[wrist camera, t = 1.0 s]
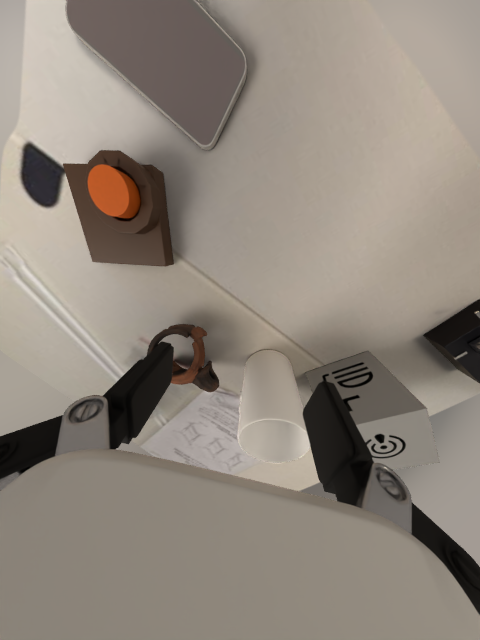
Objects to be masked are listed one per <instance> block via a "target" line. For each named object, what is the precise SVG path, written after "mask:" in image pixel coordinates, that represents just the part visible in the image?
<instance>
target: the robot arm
mask: <svg viewBox="0 0 480 640" xmlns="http://www.w3.org/2000/svg"><path fill="white" fill-rule="evenodd" d="M173 352H174V347H172V346H171V344H170V343H166V342H160V343H159V344H158V345H157V346H156V347H155V348H154V349H153V350H152V351H151V352H150V353H149V354H148V355H147V356H146V357H145V358H144V360H142V359H141V360H139V361H138V362H137V363H136V364H135V365H134V366H133V367H132V368H131V369H130V370H129V371H128V372H127V373H126V374H125V375H123V376H122V377H121V378H120V379H119V380H118V381H117V382H116V383H115V384H114V385H113V386H112V387H111V388H110V389H109V390H108V391H107V392H106V393H105V394H104V395H103V396H100V395H92V396H87V397H84V398H81V399H79V400H78V401H76V402H74V403H73V404H72V405H70V406H69V407H68V408H67V410H66V411H65V412H64V415H62V416H59V417H56V418H53V419H50V420H47V421H44V422H41V423H38V424H35V425H32V426H30V427H27V428H24V429H21V430H18V431H15V432H12V433H9V434H6V435H3V436H0V640H480V567H479V566H478V564H477V563H476V562H475V561H474V559H473V558H472V557H471V556H470V555H469V554H468V553H467V552H466V551H465V550H464V549H463V548H462V547H460V546H459V545H458V544H457V543H456V542H455V541H454V540H452V538H450V537H449V536H448V535H447V534H446V533H445V532H444V531H443V530H442V529H441V528H439V527H438V526H437V525H436V524H435V523H434V522H433V521H432V520H431V519H430V518H428V517H427V516H426V515H425V514H424V513H423V512H422V511H421V510H420V509H419V508H417V507H416V506H415V505H414V504H413V503H412V500H411V495H410V492H409V490H408V488H407V486H406V485H405V483H404V482H403V481H402V480H401V478H400V477H399V476H398V475H397V474H396V473H395V472H394V471H393V470H392V469H390V468H389V467H387V466H386V465H383V464H381V463H374V461H373V459H372V458H373V456H372V454H371V452H370V450H369V448H368V447H367V445H366V443H365V441H364V439H363V437H362V435H361V433H360V432H359V430H358V428H357V426H356V424H355V422H354V420H353V418H352V416H351V415H350V413H349V411H348V409H347V407H346V405H345V403H344V401H343V400H342V398H341V396H340V394H339V392H338V390H337V388H336V386H335V385H334V383H331V382H327V381H322V382H320V383H319V384H318V385H317V387H316V389H315V391H314V392H313V394H312V396H311V398H310V399H309V401H308V403H307V405H306V406H305V408H304V410H303V419H304V423H305V427H306V430H307V434H308V438H309V442H310V446H311V450H312V454H313V458H314V462H315V466H316V470H317V474H318V478H319V480H320V482H321V483H322V484H323V488H324V491H325V492H329V493H333V494H336V497H337V501H334V500H331V499H327V498H323V497H319V496H315V495H311V494H307V493H303V492H299V491H295V490H291V489H287V488H283V487H279V486H275V485H271V484H267V483H262V482H258V481H254V480H250V479H246V478H242V477H238V476H233V475H229V474H225V473H221V472H217V471H213V470H208V469H204V468H200V467H196V466H191V465H187V464H183V463H178V462H174V461H170V460H166V459H161V458H157V457H152V456H147V455H143V454H138V453H133V452H127V451H121V450H115V449H116V448H118V447H119V446H120V444H121V443H126V444H129V443H130V441H131V440H132V438H136V437H137V436H138V434H139V433H140V431H141V430H142V428H143V426H144V425H145V423H146V422H147V420H148V418H149V417H150V415H151V414H152V412H153V410H154V409H155V407H156V406H157V404H158V402H159V401H160V399H161V398H162V396H163V394H164V393H165V391H166V389H167V388H168V386H169V385H170V383H171V380H172V369H173Z"/></svg>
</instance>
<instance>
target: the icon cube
mask: <svg viewBox="0 0 480 640" xmlns="http://www.w3.org/2000/svg"><path fill="white" fill-rule="evenodd" d="M305 373H306V376H307V379H308V382H309V384H310V387H311V390H312V393H313V392H314V391H315V389H316V387H317V385H318V384H319V383H320V382H322V381H327V382H331V383H334V385H335V386H336V388H337V390H338V392H339V394H340V396H341V398H342V400H343V401H344V403H345V405H346V407H347V409H348V411H349V413H350V415H351V416H352V418H353V420H354V422H355V424H356V426H357V428H358V430H359V432H360V433H361V435H362V437H363V439H364V441H365V443H366V445H367V447H368V448H369V450H370V452H371V454H372V456H373V458H372V459H373V461H374V463H381V464H383V465H386V466H387V467H389V468H390V469H392V470H394V469H401V468H408V467H414V466H420V465H427V464H434V463H439V457H438V453H437V449H436V445H435V440H434V436H433V432H432V427H431V423H430V419H429V415H428V411H427V408H426V407H425V406H424V405H423V404H422V403H421V402H420V401H419V400H418V399H417V398H416V397H415V396H414V395H413V394H412V393H411V392H410V391H409V390H408V389H407V388H406V387H405V386H404V385H403V384H402V383H401V382H400V381H399V380H398V379H397V378H396V377H395V376H394V375H393V374H391V373H390V372H389V371H388V370H387V369H386V368H385V367H384V366H383V365H382V364H381V363H380V362H379V361H378V360H377V359H376V358H375V357H374V356H373V355H372V354H371V353H370V352H369V351H366V352H363V353H361V354H358V355H355V356H352V357H349V358H346V359H343V360H340V361H337V362H334V363H331V364H329V365H326V366H323V367H320V368H317V369H314V370H311V371H308V372H305Z"/></svg>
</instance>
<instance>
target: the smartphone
mask: <svg viewBox="0 0 480 640" xmlns="http://www.w3.org/2000/svg"><path fill="white" fill-rule="evenodd" d="M66 17H67V21H68V23H69V26H70V27H71V29H72V31H73V32H74V33H75V34H76V35H77V37H78V38H79V39H80V40H81V41H82V42H83V43H84V44H85V45H86V46H87V47H88V48H89V49H90V50H91V51H93V52H94V53H95V54H96V55H97V56H98V57H99V58H100V59H102V60H103V61H104V62H105V63H106V64H107V65H108V66H109V67H111V68H112V69H113V70H114V71H115V72H116V73H117V74H118V75H120V76H121V77H122V78H123V79H124V80H125V81H126V82H127V83H129V84H130V85H131V86H132V87H133V88H134V89H135V90H136V91H138V92H139V93H140V94H141V95H142V96H143V97H144V98H145V99H147V100H148V101H149V102H150V103H151V104H152V105H153V106H154V107H156V108H157V109H158V110H159V111H160V112H161V113H162V114H163V115H165V116H166V117H167V118H168V119H169V120H170V121H171V122H172V123H174V124H175V125H176V126H177V127H178V128H179V129H180V130H181V131H183V132H184V133H185V134H186V135H187V136H188V137H189V138H190V139H192V140H193V141H194V142H195V143H196V144H197V145H198V146H199V147H201V148H202V149H204V150H210V149H212V148H213V147H214V146H215V144H216V142H217V140H218V138H219V136H220V134H221V132H222V130H223V127H224V125H225V123H226V121H227V119H228V117H229V115H230V113H231V111H232V109H233V107H234V104H235V102H236V100H237V98H238V96H239V94H240V92H241V90H242V88H243V86H244V83H245V81H246V76H247V65H246V57H245V54H244V52H243V51H242V49H241V48H240V47H239V46H238V45H237V44H236V43H235V41H234V40H233V39H232V38H231V37H230V36H229V35H228V34H227V33H226V32H225V31H224V30H223V29H222V28H221V26H220V25H219V24H218V23H217V22H216V21H215V20H214V19H213V18H212V17H211V16H210V15H209V14H208V13H207V11H206V10H205V9H204V8H203V7H202V6H201V5H200V4H199V3H198V2H197V1H196V0H66Z"/></svg>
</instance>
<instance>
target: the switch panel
mask: <svg viewBox="0 0 480 640" xmlns="http://www.w3.org/2000/svg"><path fill="white" fill-rule="evenodd" d="M424 337H425V338H426V339H427V340H428V341H429V342H430V343H431V344H432V345H434V346H435V347H436V348H437V349H438V350H439V351H440V352H441V353H442V354H443V355H444V356H445V357H446V358H447V359H448V360H449V361H450V362H451V363H452V364H453V365H454V366H455V367H456V368H457V369H458V370H460V371H461V372H463V373H464V374H466V375H467V376H469V377H471V378H472V379H474V380H475V381H477V382H478V383H480V354H478V353H477V352H476V351H475V350H474V349H473V348H472V347H471V346H470V345H469V344H468V343H470V342H472V341H473V340H475V339H477V338H479V337H480V299H479V300H478V301H476V302H475V303H473V304H471V305H470V306H468V307H467V308H465V309H464V310H462V311H461V312H459V313H457V314H456V315H454V316H453V317H451V318H450V319H448V320H446V321H445V322H443V323H442V324H440V325H439V326H437V327H436V328H434V329H432V330H431V331H429V332H428V333H426V334H425V335H424Z"/></svg>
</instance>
